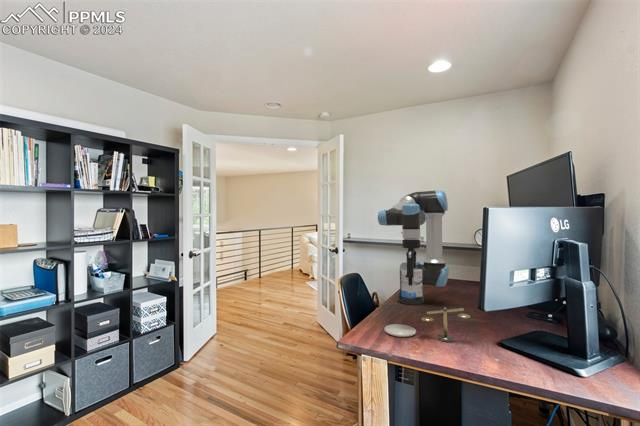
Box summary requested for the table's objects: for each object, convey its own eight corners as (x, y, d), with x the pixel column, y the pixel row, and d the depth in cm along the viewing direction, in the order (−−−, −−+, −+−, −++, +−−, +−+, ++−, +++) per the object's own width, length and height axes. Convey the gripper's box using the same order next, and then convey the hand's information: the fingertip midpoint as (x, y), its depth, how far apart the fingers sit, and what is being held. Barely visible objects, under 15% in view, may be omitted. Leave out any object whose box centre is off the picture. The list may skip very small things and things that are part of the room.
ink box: (410, 299, 127) (409, 264, 127) (401, 296, 131) (400, 262, 131) (423, 296, 132) (422, 262, 132) (413, 294, 136) (413, 261, 136)
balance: (422, 333, 127) (422, 302, 127) (470, 339, 120) (469, 307, 120) (421, 338, 121) (420, 306, 122) (471, 345, 114) (470, 311, 115)
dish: (387, 325, 137) (387, 322, 137) (417, 329, 132) (417, 326, 132) (381, 335, 125) (381, 332, 125) (414, 340, 120) (414, 337, 120)
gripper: (405, 237, 144) (406, 285, 143) (399, 240, 124) (399, 295, 123) (421, 238, 141) (422, 286, 140) (418, 240, 121) (419, 296, 120)
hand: (411, 290), depth 131 cm, fingers closed on ink box, 9 cm apart
